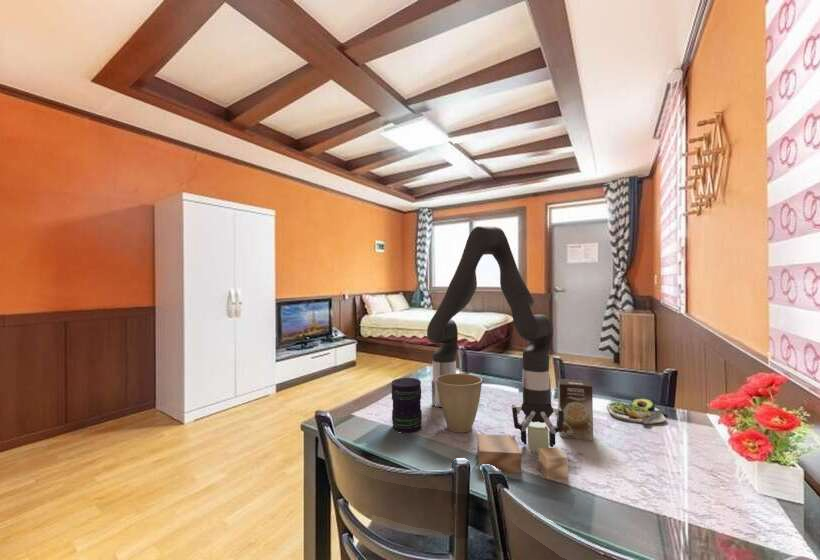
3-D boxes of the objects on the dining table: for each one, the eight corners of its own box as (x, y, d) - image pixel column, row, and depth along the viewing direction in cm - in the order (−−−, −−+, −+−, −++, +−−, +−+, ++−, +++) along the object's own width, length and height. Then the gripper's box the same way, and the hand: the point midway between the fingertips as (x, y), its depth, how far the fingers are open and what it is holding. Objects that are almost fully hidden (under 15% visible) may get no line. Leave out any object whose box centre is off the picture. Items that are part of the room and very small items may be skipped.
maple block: (547, 479, 80) (546, 458, 80) (539, 468, 85) (538, 448, 85) (568, 478, 80) (567, 457, 80) (558, 467, 85) (558, 447, 85)
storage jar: (426, 424, 114) (425, 379, 114) (414, 435, 105) (413, 387, 105) (400, 419, 118) (399, 376, 118) (386, 430, 109) (385, 384, 109)
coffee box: (560, 437, 102) (558, 383, 102) (558, 428, 108) (556, 378, 108) (594, 441, 99) (592, 386, 99) (590, 432, 105) (588, 380, 105)
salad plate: (676, 432, 104) (676, 417, 104) (609, 423, 112) (609, 409, 112) (663, 411, 122) (662, 398, 122) (606, 404, 130) (605, 392, 130)
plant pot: (492, 427, 110) (491, 378, 110) (464, 442, 100) (463, 388, 100) (455, 415, 121) (454, 370, 121) (427, 428, 110) (426, 379, 111)
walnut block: (479, 471, 85) (479, 451, 85) (477, 452, 94) (477, 434, 95) (521, 473, 83) (520, 453, 83) (514, 454, 93) (514, 435, 93)
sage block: (529, 451, 94) (529, 429, 94) (528, 443, 99) (527, 422, 99) (548, 452, 93) (548, 430, 93) (546, 444, 98) (545, 423, 98)
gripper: (510, 387, 94) (512, 448, 94) (566, 390, 91) (568, 453, 90) (509, 380, 102) (511, 436, 101) (561, 382, 98) (562, 441, 98)
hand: (538, 444), depth 96 cm, fingers open, 6 cm apart
